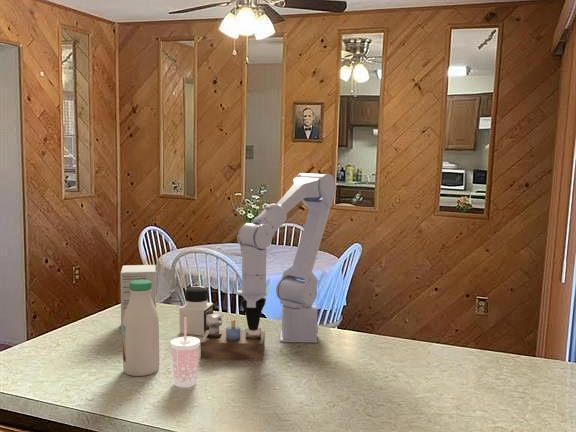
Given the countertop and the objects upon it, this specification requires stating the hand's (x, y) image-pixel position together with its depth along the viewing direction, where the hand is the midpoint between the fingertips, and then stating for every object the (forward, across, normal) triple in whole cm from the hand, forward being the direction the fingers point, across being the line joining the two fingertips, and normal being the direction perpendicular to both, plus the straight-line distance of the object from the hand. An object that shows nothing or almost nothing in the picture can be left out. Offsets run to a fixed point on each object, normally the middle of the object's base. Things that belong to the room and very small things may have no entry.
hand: (253, 328), depth 129 cm
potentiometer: (+2, +1, -5) cm, 5 cm away
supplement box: (+6, -17, -33) cm, 37 cm away
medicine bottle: (+6, -16, -17) cm, 24 cm away
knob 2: (+6, 0, 0) cm, 6 cm away
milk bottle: (+6, +12, -24) cm, 27 cm away
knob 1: (+3, 0, -10) cm, 10 cm away
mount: (+6, 0, -5) cm, 8 cm away
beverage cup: (+6, +18, -13) cm, 23 cm away
